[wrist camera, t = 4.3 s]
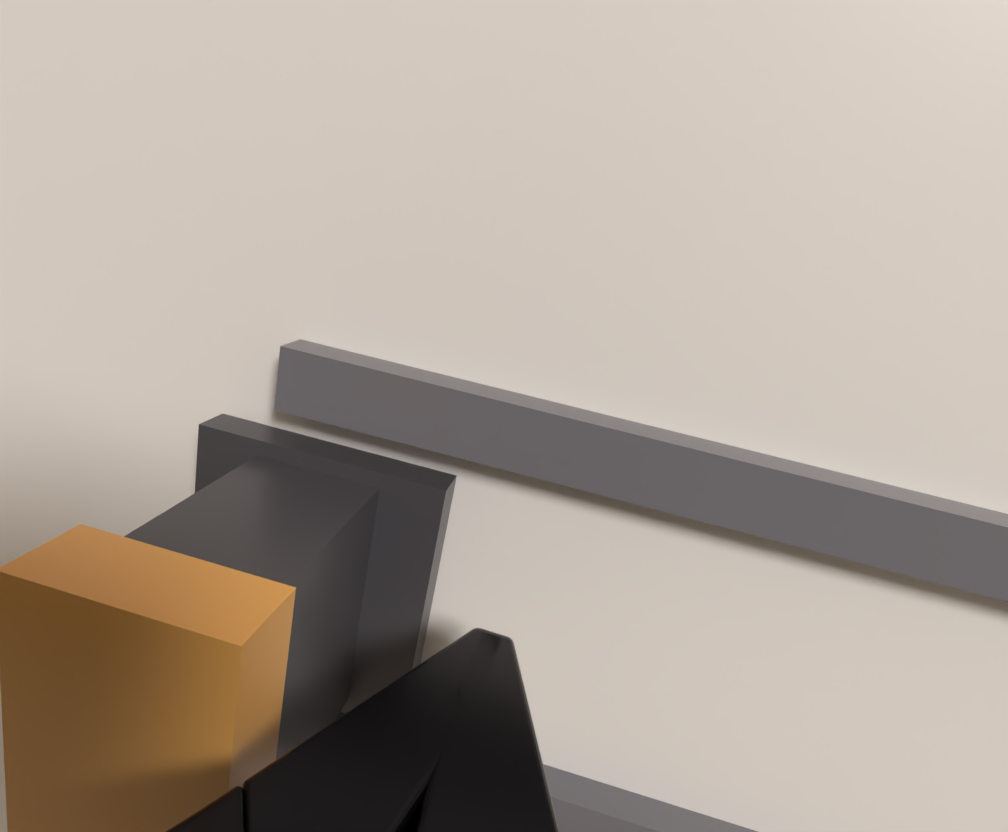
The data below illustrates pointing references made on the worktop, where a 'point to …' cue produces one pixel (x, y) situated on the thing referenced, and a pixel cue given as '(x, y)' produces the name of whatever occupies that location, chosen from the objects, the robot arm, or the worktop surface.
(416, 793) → the robot arm
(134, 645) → the breaker toggle
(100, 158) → the breaker box
